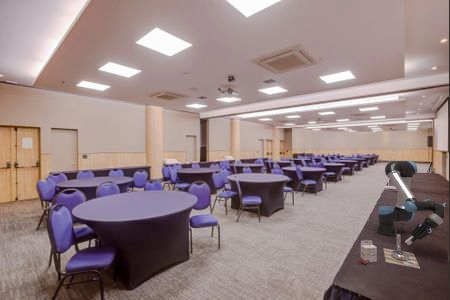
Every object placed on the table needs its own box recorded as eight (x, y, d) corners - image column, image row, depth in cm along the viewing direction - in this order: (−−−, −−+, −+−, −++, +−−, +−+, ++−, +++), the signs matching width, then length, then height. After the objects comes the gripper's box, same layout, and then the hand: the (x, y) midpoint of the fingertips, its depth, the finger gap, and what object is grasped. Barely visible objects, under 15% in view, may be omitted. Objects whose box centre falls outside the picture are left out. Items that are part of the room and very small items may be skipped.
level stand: (383, 250, 175) (383, 247, 175) (413, 255, 166) (413, 252, 166) (386, 263, 156) (385, 261, 156) (420, 270, 147) (420, 267, 147)
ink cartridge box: (365, 264, 156) (364, 243, 156) (360, 261, 161) (360, 240, 161) (377, 264, 157) (377, 242, 156) (372, 260, 161) (372, 239, 161)
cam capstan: (390, 250, 171) (389, 232, 170) (407, 253, 166) (407, 235, 165) (392, 260, 156) (392, 241, 156) (411, 264, 151) (411, 244, 151)
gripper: (444, 228, 155) (416, 251, 159) (431, 221, 168) (405, 243, 172) (435, 220, 156) (408, 243, 160) (422, 214, 169) (397, 236, 172)
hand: (406, 243), depth 166 cm, fingers closed
